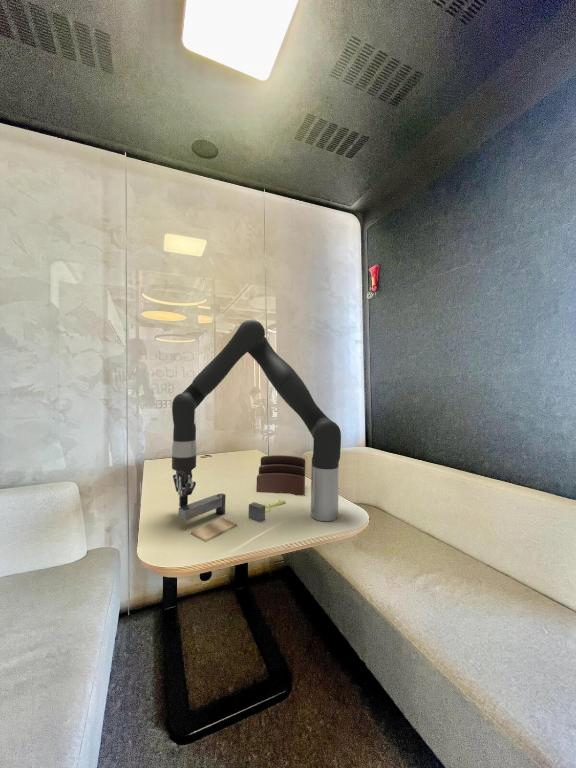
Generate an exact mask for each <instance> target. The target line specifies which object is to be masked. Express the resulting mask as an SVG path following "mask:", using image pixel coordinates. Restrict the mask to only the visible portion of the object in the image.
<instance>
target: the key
mask: <svg viewBox="0 0 576 768" xmlns="http://www.w3.org/2000/svg"><path fill="white" fill-rule="evenodd" d="M260 504H261V505H264V506H265V509H267V511H266V510H265V514H267V513H270V512H271V508H273V507H277V506H280V505H284V504H286V500H285V499H278V501H277V502H275V503H272V504H268V505H267V504H263V503H260Z"/></svg>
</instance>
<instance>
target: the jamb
mask: <svg viewBox="0 0 576 768" xmlns="http://www.w3.org/2000/svg"><path fill="white" fill-rule="evenodd" d="M261 504H262V503H258V502H256V501H253V502H251V503H249V504H248V519H251V520H254V521H256V522H258V523H261V522H263V521H265V520H266V513H265V512H266V507H265V506H264V505H265V504H264V505H261Z"/></svg>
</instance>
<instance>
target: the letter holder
mask: <svg viewBox="0 0 576 768" xmlns="http://www.w3.org/2000/svg"><path fill="white" fill-rule="evenodd" d="M305 490H306V459H305V458H303V457H300V456H293V455H280V454H279V455H275V454H274V455H263V456H261V457H260V465H259V467H258V475H257V476H256V493H265V494H266V493H267V494H268V493H269V494H286V495H287V494H288V495H294V496H297V495H304V496H305Z"/></svg>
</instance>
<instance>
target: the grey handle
mask: <svg viewBox="0 0 576 768" xmlns="http://www.w3.org/2000/svg"><path fill="white" fill-rule="evenodd" d="M226 496H227V495H226V493H218V494H214V495H210V496H207V497H206V498H203V499H200V500H197V501H193V502H192V503H188V505H185V506H182V507H180V506H179V507H178V518H179V519H180V520H182V521H184V522H186V521H188V520H191V519H193V518H196V517H198V516H201V515H204V514H206V513H208V512H211V511H214V510H215V514H216V515H217V516H218V515H219V516H222V515H225V514H226V498H227V497H226Z"/></svg>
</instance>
